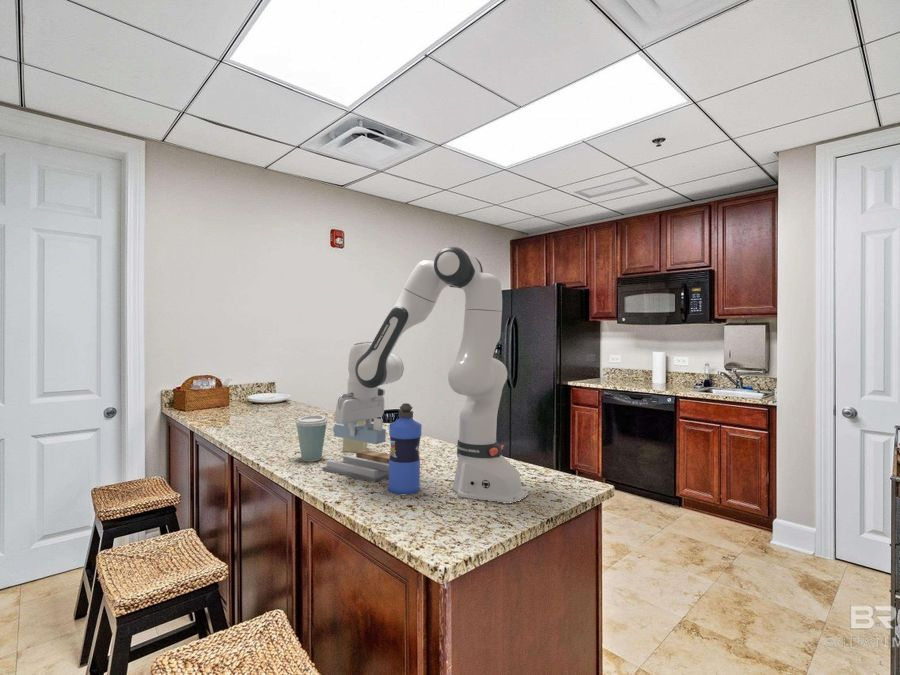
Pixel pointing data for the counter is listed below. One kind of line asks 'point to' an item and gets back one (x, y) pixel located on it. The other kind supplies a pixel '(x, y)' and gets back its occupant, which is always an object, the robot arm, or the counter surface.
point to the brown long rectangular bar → (373, 456)
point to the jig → (359, 468)
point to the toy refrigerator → (354, 442)
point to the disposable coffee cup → (311, 436)
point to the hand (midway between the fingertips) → (359, 434)
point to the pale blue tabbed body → (363, 432)
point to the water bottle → (404, 453)
